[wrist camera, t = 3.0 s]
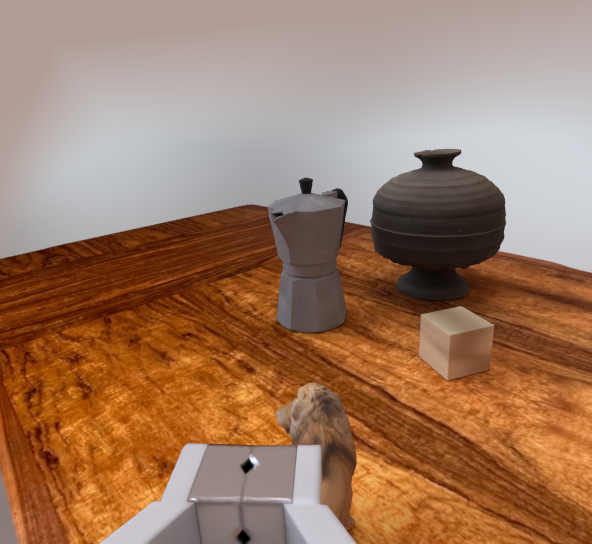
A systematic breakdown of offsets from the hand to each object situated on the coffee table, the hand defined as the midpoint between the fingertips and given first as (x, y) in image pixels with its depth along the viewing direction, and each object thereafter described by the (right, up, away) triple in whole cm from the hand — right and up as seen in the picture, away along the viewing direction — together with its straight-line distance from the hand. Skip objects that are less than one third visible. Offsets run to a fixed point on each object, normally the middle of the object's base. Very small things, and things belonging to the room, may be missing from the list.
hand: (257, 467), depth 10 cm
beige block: (+17, -5, +38) cm, 42 cm away
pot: (+21, +2, +57) cm, 61 cm away
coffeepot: (+4, -2, +51) cm, 51 cm away
